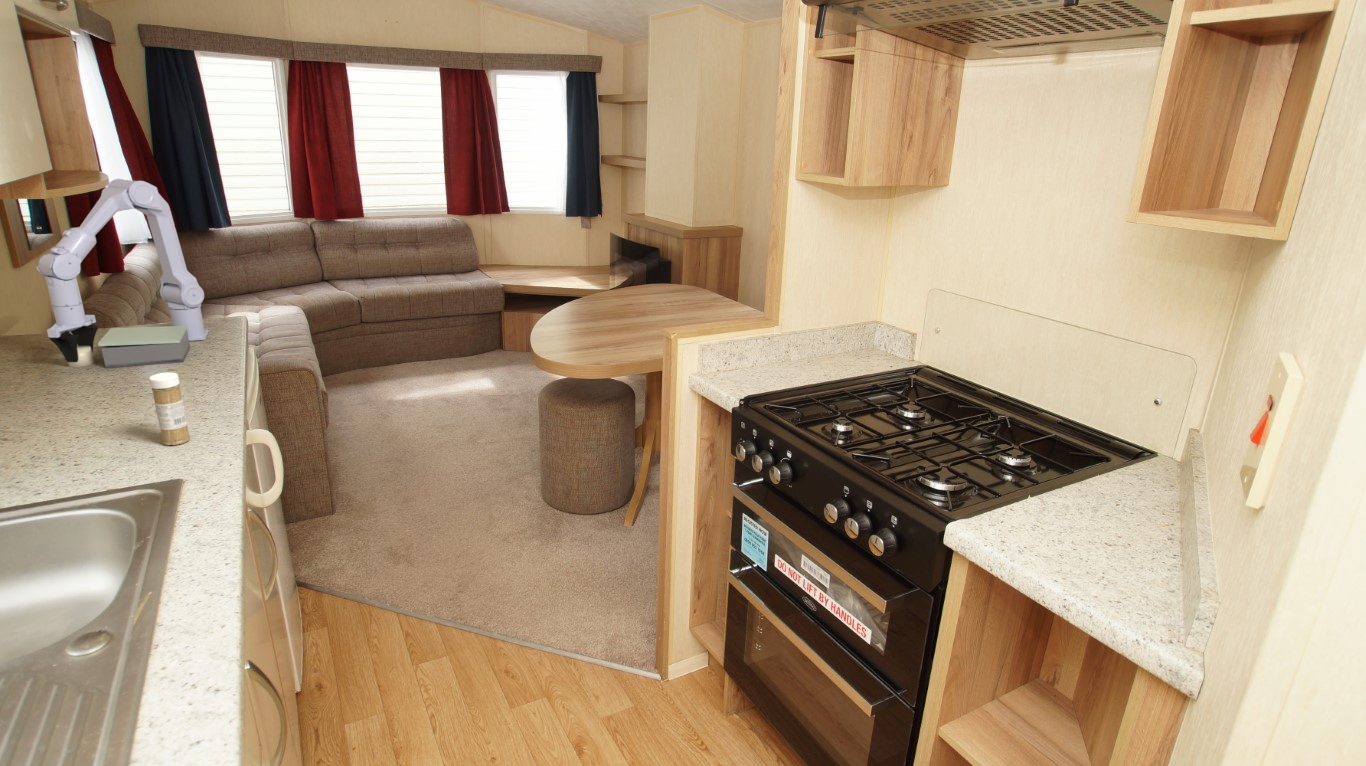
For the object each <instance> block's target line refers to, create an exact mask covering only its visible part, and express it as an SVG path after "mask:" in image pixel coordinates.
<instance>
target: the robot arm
mask: <svg viewBox="0 0 1366 766" xmlns="http://www.w3.org/2000/svg"><path fill="white" fill-rule="evenodd" d="M133 209H134V210H137V211H139V212H140V213H142V214H144V215H146V217H147V221H148V226H149V229H150V232H151V236H152V239H153V242H154V246H155V249H156V253H157V256H158V259H159V263H160V266H161V269H162V275H161V276H160V278H159V282H160V290H159V294H160V297H161V299H162V300H163V301H164V302H165V303H166V305H167V307H168V309H169V314H170V316H169V317H170V319H171V326H187V332H188V337H189V342H190V341H191V342H193V341H194V342H195V341H205V340H207V336H208V334H209V333H210V331H209V330H208V329H205V325H204V319H203V315H202V308H201V307H202V303H203V301H204V299H205V291H204V289H203V288H202V287H201V286H200V285H199V282H198V280H197V278H196V277H195V276H194V275H193V274H192V273H190V271H189V270H188V268H187V264H186V262H185V257H184V254H183V251H182V250H183V249H182V246H181V243H180V240H179V236H178V232H177V229H176V227H175V226H176V225H175V222H174V218H173V215H172V211H171V208H170V205H169V203H168V202H167V201H166V200H165V199H164V198H163V197H162V195H161V194H160V193H159V190H158V187H157V186H155V185H153V184H151V183H149V182H146V181H144V180H131V179H130V180H129V179H123V178H115V179H113V180H111V181H110V182H109V183H108V184H107V187H106V186H105V188H103V189H102V191H101V195H100V196H99V199H98V200H97V201H96V202H95V204H94V206H93V207H92V209H91V210H90V211H89V213H88V214H87V216H86V217H85V218H84V220H83V222H82V223H81V224H80V226H78V227H70V228H69V229H68V230H67V229H65V230H64V231H63V233H62V235H63V237H62V238H61V239H60V241H59V242H57V244H56V245H55V247H53V246H52V247H51V249H50V250H49V252H50V253H47V254H44V255H42V256H41V257H40V259H39V261H38V266H36V269H37V271H38V273H39V274H40V275H42V276H43V277H44V278H45V282H46V286H47V291H48V294H49V299H50V303H51V307H52V311H53V315H54V320H55V323H54V324H53V325H52V326H51V327H49V328H48V329H46V332H47V336H48V338H49V341H50V342H52V343H53V344H55V346H56V347H57V348H58V349H59V351H60V352H61V354H62V355H63V357H64V359H65V360H66V362H67V363H68V362H78V351H77V346H90V347H91V351H92V354H93V351H94V341H95V337H96V334H97V331H98V329H99V328H98V325H97V324H96V322H97V320H96V316H95V314H85V308H84V304H83V300H82V297H81V295H82V294H81V292H80V287H79V284H78V283H79V282H78V278H77V276H78V275H79V274H80V273H81V263H82V262H83V260H84V259H85V258H86V257H87V255H88V254H89V253H90V252H91V250H92V249H93V248H94V247H95V245H96V244H97V237H96V235H97V234H98V233H99V232H100V231H101V230H102V229H103V228H104V226H105V225H106V224H108V222H109V221H110V220H111V219H112V218H113V217H114V216H115V215H116V214H117V213H118V212H122V211H128V210H133ZM94 323H95V324H94Z"/></svg>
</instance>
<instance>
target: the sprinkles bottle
mask: <svg viewBox="0 0 1366 766" xmlns="http://www.w3.org/2000/svg"><path fill="white" fill-rule="evenodd" d="M148 381H149V386H150V389H151V391H152V395H153V400H154V406H155V411H156V416H157V421H158V427H159V429H160V433H161V438H162V441H161V442H162V444H163V445H165V446H169V445H173V446H179V444H180V445H184V444H185V443H187V441H188V442H189V441H190V440H191V436H190V434H189V429H188V422H187V417H186V411H185V406H184V401H183V398H182V394H181V393H182V392H181V388H180V377H179V374H178V373H176V372H170V371H169V372H167V371H166V372H161V373H155V374H153V375H151V376H149V378H148ZM183 443H184V444H183Z"/></svg>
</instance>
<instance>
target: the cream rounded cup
mask: <svg viewBox="0 0 1366 766" xmlns="http://www.w3.org/2000/svg"><path fill="white" fill-rule="evenodd" d="M77 351H78V362H67V364H68V367H70V368H82V367H87V366H90V365H91V366H92V365H94V364H95V359H94V356H93V353H92V351H91V347H90V346H78V345H77Z"/></svg>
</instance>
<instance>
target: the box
mask: <svg viewBox="0 0 1366 766" xmlns="http://www.w3.org/2000/svg"><path fill="white" fill-rule="evenodd" d="M101 347H102V348H101V354H102V357H103V362H104V366H105V369H115V368H126V367H139V366H140V367H141V366H150V365H151V366H152V365H153V366H154V365H163V364H172V363H173V364H174V363H184V362H185V360H186V358H187V355H188V353H189V351H190V349H191V344H190V341H189V337H188V332H187V330H186V332H185V334H184V336H183V338H182V340H181V341H180V343H165V344H140V345H116V346H101Z"/></svg>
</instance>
